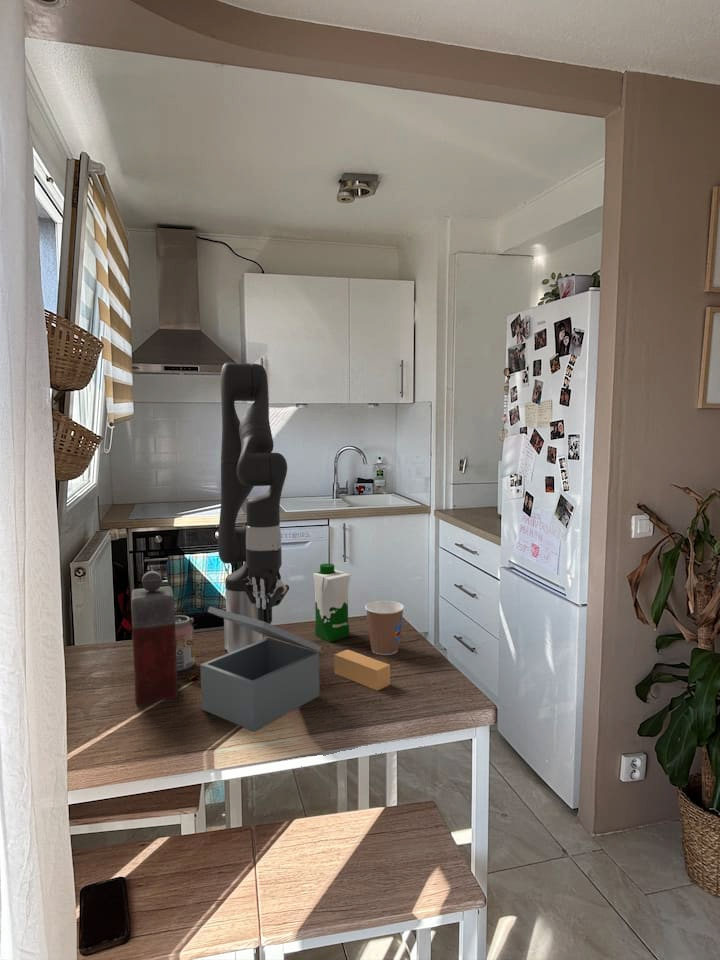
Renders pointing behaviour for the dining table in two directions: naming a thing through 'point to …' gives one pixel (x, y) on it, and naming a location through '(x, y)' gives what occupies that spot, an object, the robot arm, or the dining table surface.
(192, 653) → the beverage can
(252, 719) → the box
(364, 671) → the light orange bar
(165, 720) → the dining table surface
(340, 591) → the milk carton
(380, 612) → the coffee cup
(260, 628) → the lid
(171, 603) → the decanter
